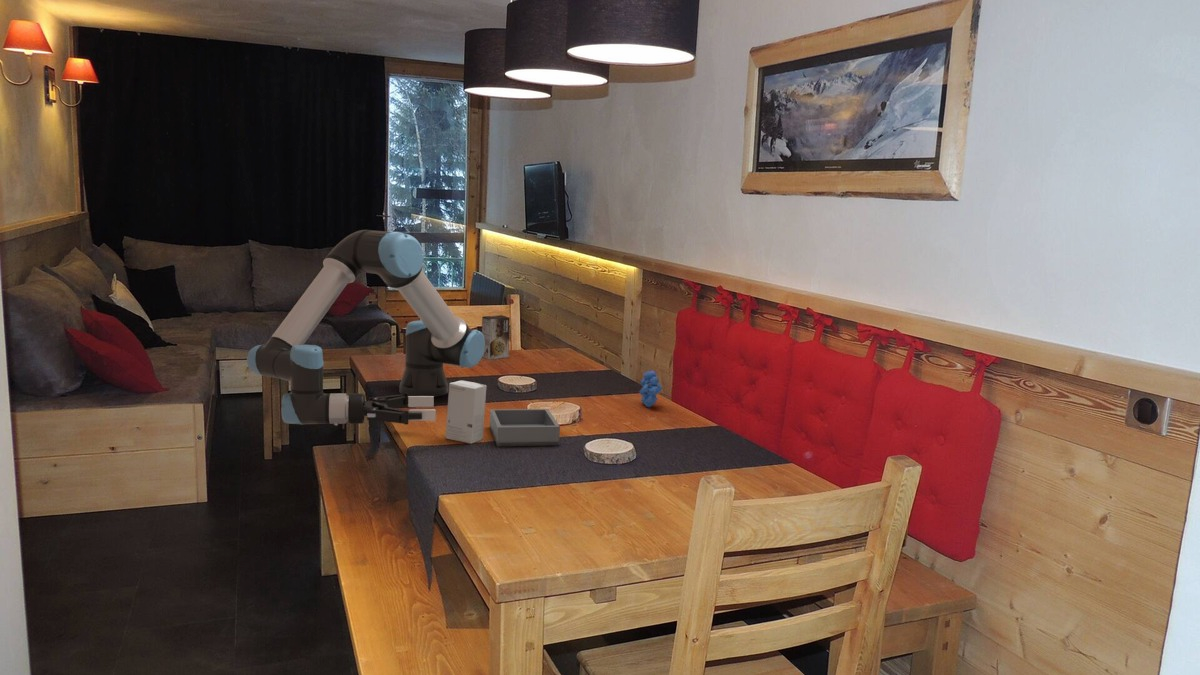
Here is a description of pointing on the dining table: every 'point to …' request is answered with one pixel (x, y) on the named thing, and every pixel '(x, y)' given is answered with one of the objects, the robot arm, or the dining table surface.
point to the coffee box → (496, 336)
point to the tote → (524, 427)
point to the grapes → (650, 388)
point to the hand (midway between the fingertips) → (434, 408)
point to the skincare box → (465, 411)
